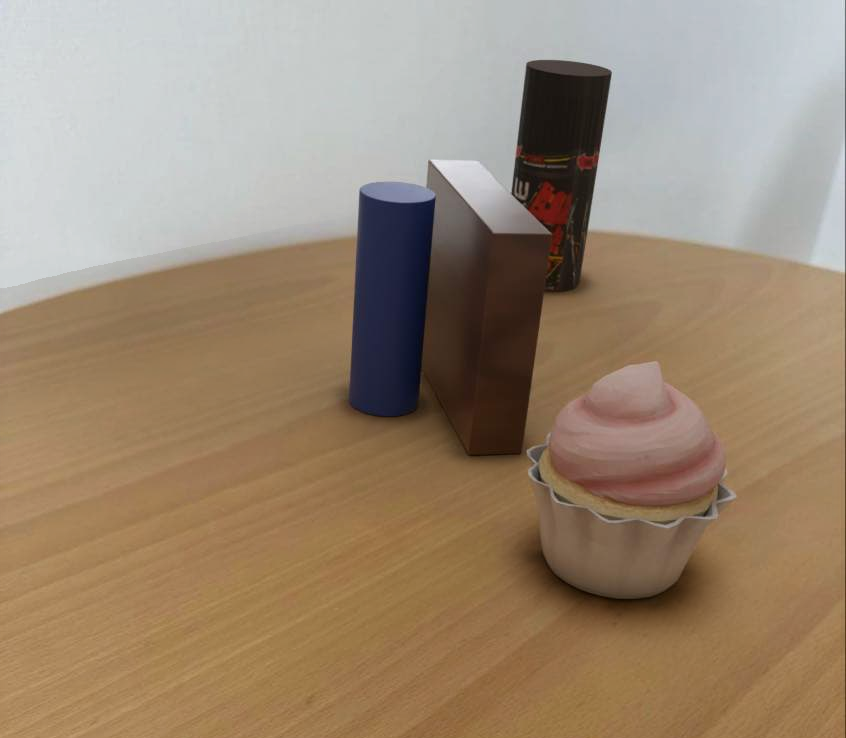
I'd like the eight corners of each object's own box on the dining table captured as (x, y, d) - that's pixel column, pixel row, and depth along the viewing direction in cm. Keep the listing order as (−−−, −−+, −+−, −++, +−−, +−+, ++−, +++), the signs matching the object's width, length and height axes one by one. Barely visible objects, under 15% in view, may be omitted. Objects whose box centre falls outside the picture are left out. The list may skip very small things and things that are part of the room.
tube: (381, 447, 66) (248, 296, 59) (370, 417, 69) (242, 270, 63) (535, 333, 64) (414, 163, 58) (515, 307, 67) (399, 144, 61)
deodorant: (594, 280, 88) (627, 71, 80) (551, 297, 84) (581, 79, 76) (530, 260, 91) (557, 57, 83) (486, 275, 87) (509, 63, 79)
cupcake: (748, 616, 50) (806, 408, 45) (544, 628, 48) (580, 412, 43) (667, 509, 58) (709, 321, 53) (489, 515, 56) (514, 320, 51)
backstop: (468, 455, 61) (493, 233, 55) (412, 352, 73) (428, 159, 67) (522, 453, 62) (552, 234, 56) (458, 352, 74) (478, 160, 67)
